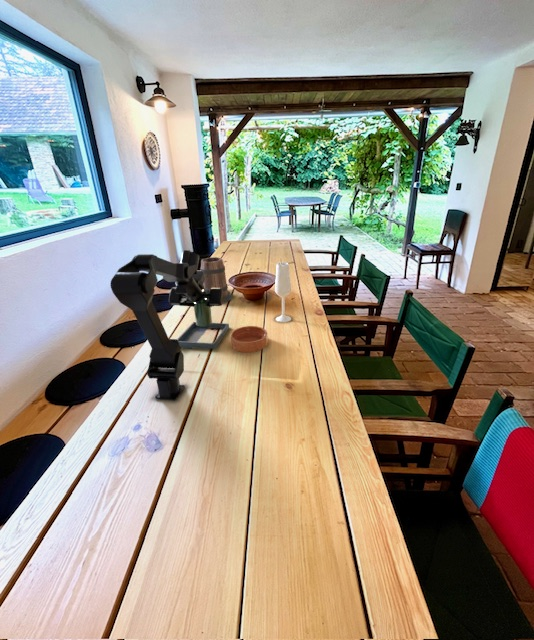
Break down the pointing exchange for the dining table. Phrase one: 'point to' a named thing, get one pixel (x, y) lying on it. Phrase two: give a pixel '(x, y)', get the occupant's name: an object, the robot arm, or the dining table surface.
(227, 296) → the tankard
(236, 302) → the dining table surface
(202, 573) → the dining table surface
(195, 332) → the tray
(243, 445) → the dining table surface
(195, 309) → the bottle
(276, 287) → the champagne flute
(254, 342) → the bowl
